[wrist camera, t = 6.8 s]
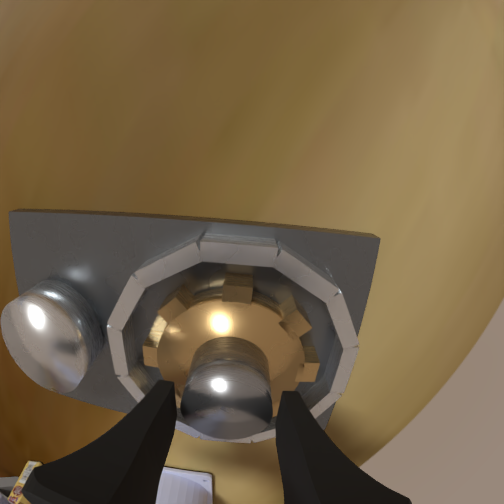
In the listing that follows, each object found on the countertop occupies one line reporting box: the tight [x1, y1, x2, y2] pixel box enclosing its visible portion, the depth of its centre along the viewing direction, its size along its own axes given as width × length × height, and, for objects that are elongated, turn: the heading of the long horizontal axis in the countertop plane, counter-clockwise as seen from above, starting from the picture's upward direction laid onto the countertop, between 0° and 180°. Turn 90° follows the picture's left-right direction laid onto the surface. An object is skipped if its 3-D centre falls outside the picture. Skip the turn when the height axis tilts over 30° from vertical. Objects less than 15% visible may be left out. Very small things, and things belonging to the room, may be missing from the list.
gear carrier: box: [1, 209, 380, 443], centre depth 13 cm, size 13×20×4 cm, turn 85°
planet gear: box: [143, 272, 320, 440], centre depth 12 cm, size 8×8×4 cm
